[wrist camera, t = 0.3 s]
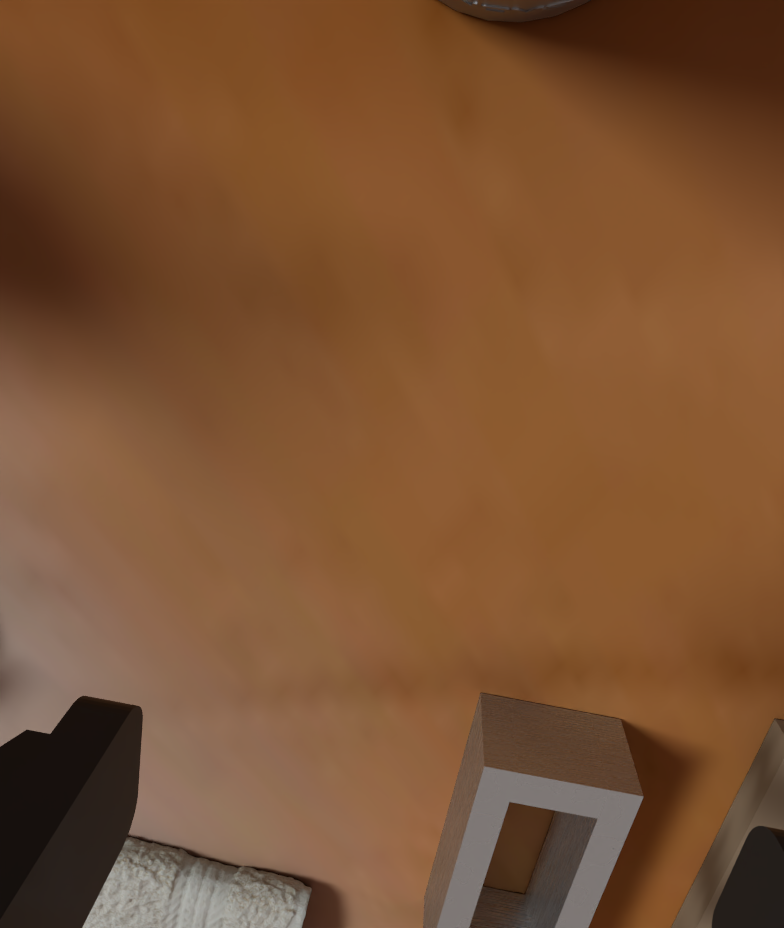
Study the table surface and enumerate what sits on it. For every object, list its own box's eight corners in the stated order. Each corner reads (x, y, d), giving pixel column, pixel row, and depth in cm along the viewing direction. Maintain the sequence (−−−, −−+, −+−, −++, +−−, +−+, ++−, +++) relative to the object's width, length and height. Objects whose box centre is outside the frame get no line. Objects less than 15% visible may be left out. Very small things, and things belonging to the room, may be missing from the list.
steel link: (480, 692, 30) (484, 766, 27) (620, 719, 30) (643, 796, 26) (424, 897, 35) (420, 982, 32) (543, 919, 35) (554, 1007, 32)
